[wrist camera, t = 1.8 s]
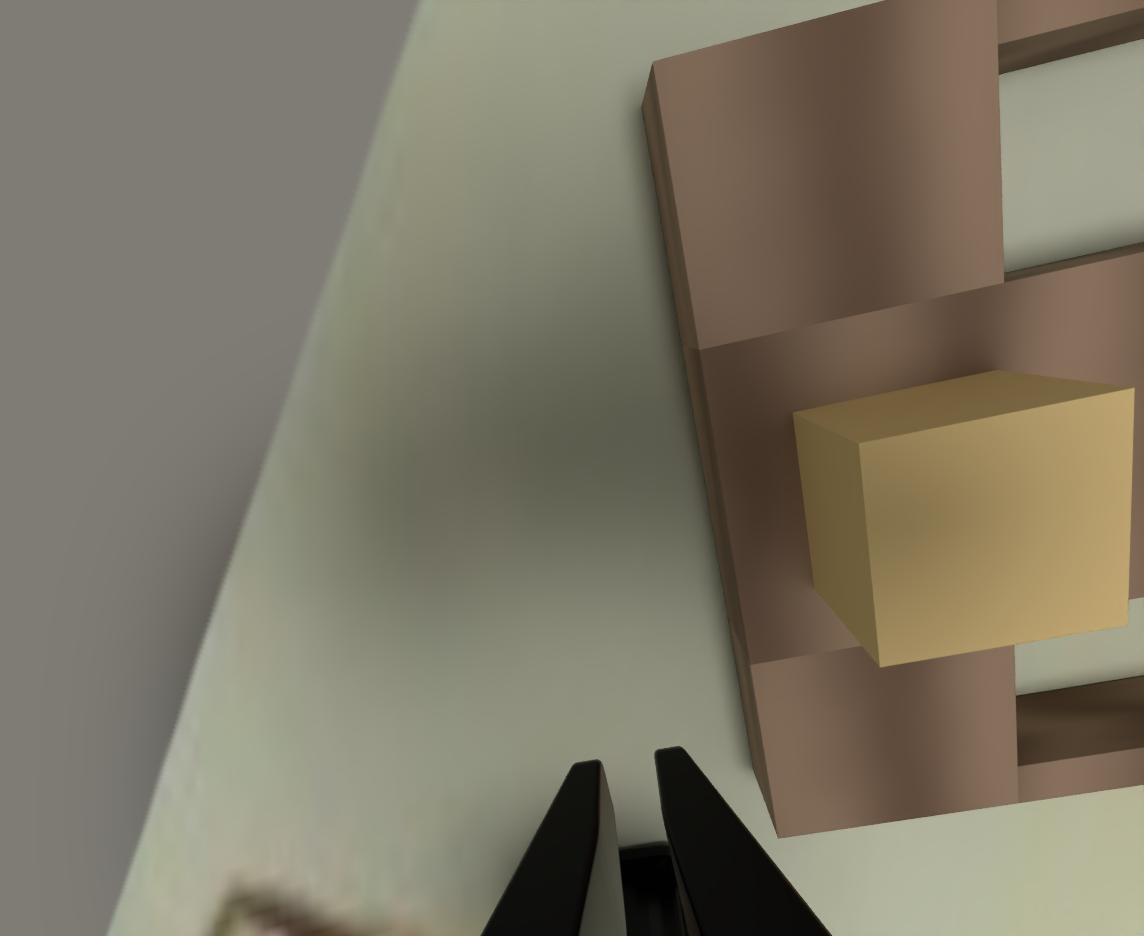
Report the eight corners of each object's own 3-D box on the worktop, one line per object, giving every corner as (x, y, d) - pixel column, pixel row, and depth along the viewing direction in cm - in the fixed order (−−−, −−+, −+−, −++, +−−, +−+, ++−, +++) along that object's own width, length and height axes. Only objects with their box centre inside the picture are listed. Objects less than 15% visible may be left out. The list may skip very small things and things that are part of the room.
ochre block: (814, 588, 17) (879, 667, 13) (792, 412, 16) (858, 443, 12) (1003, 554, 17) (1127, 625, 13) (996, 369, 15) (1134, 388, 11)
